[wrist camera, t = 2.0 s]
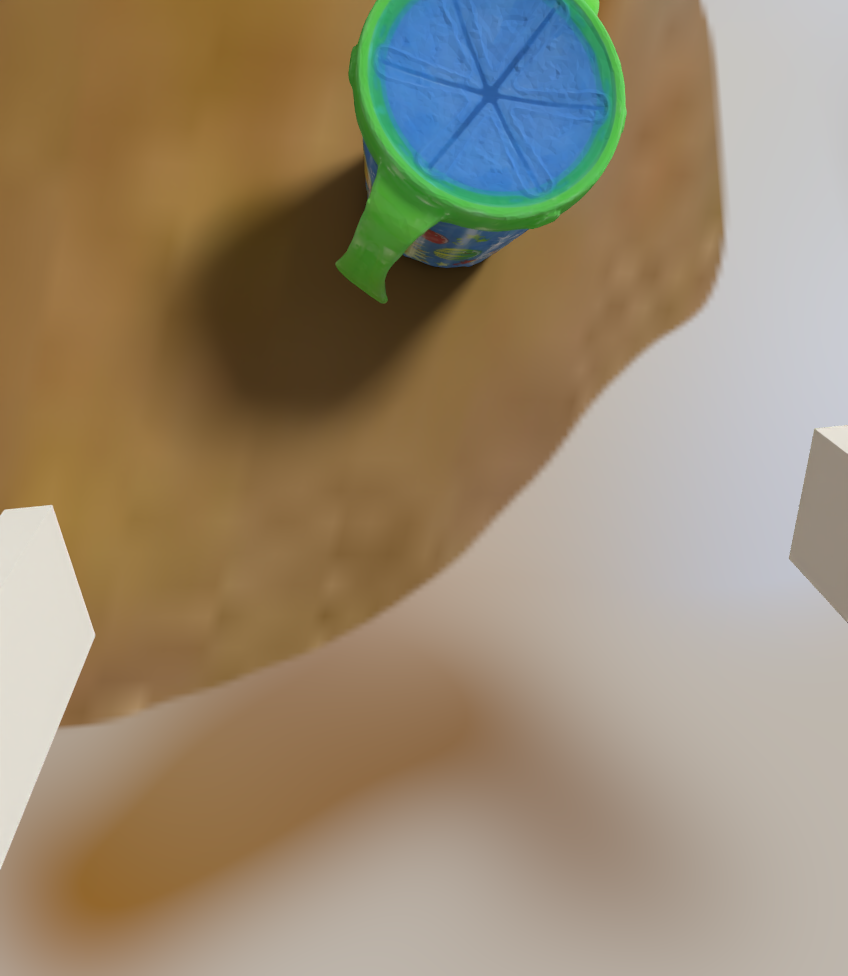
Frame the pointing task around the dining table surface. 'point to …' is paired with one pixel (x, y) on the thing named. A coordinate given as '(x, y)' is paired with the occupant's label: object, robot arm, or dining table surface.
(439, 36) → the snack cup
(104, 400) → the dining table surface
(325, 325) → the dining table surface
